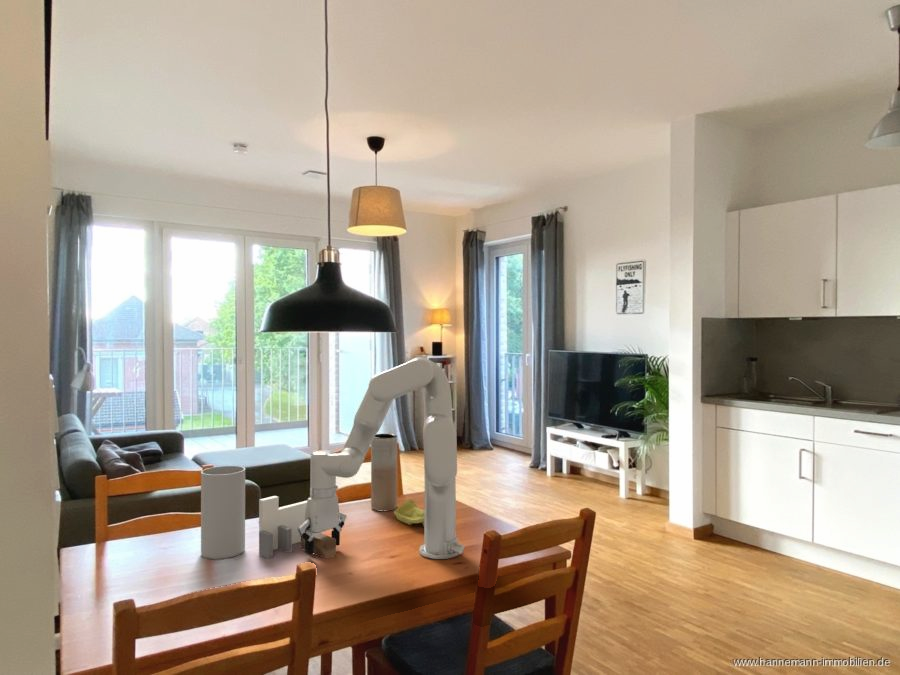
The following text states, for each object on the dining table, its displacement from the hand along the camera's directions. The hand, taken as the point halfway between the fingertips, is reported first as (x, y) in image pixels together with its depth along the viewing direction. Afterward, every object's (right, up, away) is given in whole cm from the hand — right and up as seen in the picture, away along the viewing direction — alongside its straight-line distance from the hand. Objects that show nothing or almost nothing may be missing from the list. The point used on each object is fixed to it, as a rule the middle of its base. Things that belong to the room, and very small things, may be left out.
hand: (322, 548), depth 176 cm
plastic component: (+27, -2, +30) cm, 40 cm away
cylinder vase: (-30, -2, +1) cm, 31 cm away
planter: (+13, -2, +48) cm, 50 cm away
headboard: (-10, -2, +7) cm, 13 cm away
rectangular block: (-2, -2, +2) cm, 3 cm away
